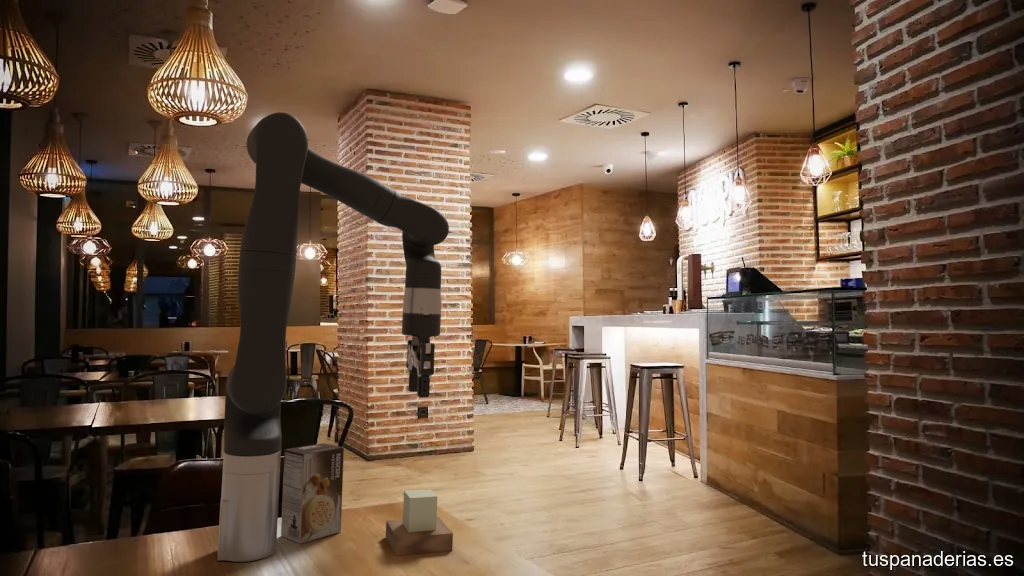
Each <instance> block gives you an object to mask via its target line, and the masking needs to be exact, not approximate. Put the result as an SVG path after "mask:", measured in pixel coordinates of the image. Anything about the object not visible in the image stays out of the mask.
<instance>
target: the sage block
mask: <svg viewBox="0 0 1024 576" xmlns="http://www.w3.org/2000/svg"><path fill="white" fill-rule="evenodd" d="M402 505H403V506H402V508H403V510H402V519H403V525H404V526H405V528H406V529H407V531H408V532H418V531H429V530H436V519H437V517H438V516H437V515H438V513H437V512H438V496H437V494H436V493H435V492H434V491H433V490H432V489H431V488H429V489H412V490H411V489H410V490H404V491H403V504H402Z"/></svg>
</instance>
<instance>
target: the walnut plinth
mask: <svg viewBox="0 0 1024 576" xmlns="http://www.w3.org/2000/svg"><path fill="white" fill-rule="evenodd" d="M385 539H386V540H387V542H388V543H389V545H390V548H391V549H392V550H393V552H394V554H395V556H397V557H398V556H406V555H417V554H426V553H436V552H437V553H438V552H446V551H449V552H450V551H453V543H454V542H453V539H454V533H453V531H452V530H451V529H450V528H449V527H448V525H446V523H444V522H443V520H442V519H441V518H440V517H439V516H437V519H436V530H429V531H418V532H408V531H407V529H406V528H405V526H404V525H403V518H402V519H390V520H386V521H385Z"/></svg>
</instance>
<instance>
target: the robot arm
mask: <svg viewBox="0 0 1024 576" xmlns="http://www.w3.org/2000/svg"><path fill="white" fill-rule="evenodd" d="M308 138H309V137H308V132H307V130H306V128H305V127H304V125H303V124H302V122H301V121H300V120H299V119H298V118H297V117H295V116H294V115H293V114H291V113H288V112H280V111H278V112H273V113H270V114H268V115H265V116H264V117H263V118H261V119H260V120H259V121H258V122H257V123H256V125H254V127H253V128H252V129H251V130H250V132H249V133H248V135H247V139H246V150H247V154H248V156H249V158H250V159H251V160H252V162H253V163H254V164H255V181H254V182H255V185H254V190H253V191H254V193H253V195H252V201H251V205H250V208H249V211H248V215H247V217H246V221H245V225H244V228H243V232H242V233H243V234H242V237H241V242H240V243H241V244H240V249H239V258H238V259H239V260H238V261H239V262H238V271H237V295H238V309H239V321H240V323H239V324H240V326H239V327H240V328H239V340H238V344H237V352H236V356H235V362H234V365H233V367H232V368H231V369H230V370H229V373H228V375H227V377H226V382H225V383H226V385H225V396H224V397H225V398H224V400H225V402H224V423H223V441H224V442H223V461H222V476H221V477H222V479H221V480H222V481H221V495H220V496H221V497H220V502H219V503H220V505H219V507H220V508H219V522H218V524H219V525H218V543H217V561H228V562H242V563H243V562H251V561H257V560H262V559H265V558H268V557H271V556H272V555H273V554H275V553H276V551H277V541H278V535H277V534H278V519H279V518H278V517H279V499H280V498H279V497H280V496H279V495H280V478H281V463H282V462H281V460H282V458H281V455H282V439H283V436H282V427H281V426H282V425H281V406H282V401H283V399H284V397H285V394H286V391H287V387H288V385H287V384H288V381H287V379H288V378H287V363H286V361H287V360H286V359H287V358H286V357H287V354H286V353H287V352H286V350H287V349H286V344H287V342H286V341H287V327H288V320H289V316H290V311H291V305H292V301H293V299H292V298H293V291H294V286H295V285H294V284H295V277H296V268H297V254H298V253H297V252H298V236H299V234H298V232H299V201H300V192H301V187H302V186H301V185H305V186H307V187H309V188H312V189H313V190H316V191H318V192H321V193H323V194H325V195H327V196H328V197H330V198H332V199H334V200H336V201H337V202H340V203H341V204H344V205H345V206H347V207H349V208H351V209H353V210H355V211H356V212H357V213H360V214H361V215H363V216H365V217H367V218H369V220H373V221H374V222H376V223H378V224H380V225H382V226H384V227H389V228H395V229H398V230H401V231H402V233H401V241H402V248H403V255H404V256H403V257H404V260H405V261H404V262H405V280H404V282H405V283H404V284H405V285H404V293H403V301H402V320H401V334H402V335H403V336H407V337H412V338H411V339H407V346H406V347H407V348H406V350H407V353H406V363H405V367H406V369H407V372H408V391H409V392H410V393H416V395H417V397H418V398H429V397H430V387H431V383H430V382H431V378H432V376H434V373H435V350H436V349H435V347H436V345H435V342H434V343H433V342H431V339H430V338H431V337H432V338H433V337H439V336H440V335H441V324H442V323H441V319H442V293H441V292H442V291H441V290H442V289H441V288H442V286H441V285H442V265H441V263H440V262H439V260H436V255H435V246H437V245H439V244H441V243H443V242H444V241H445V240H446V239H447V237H448V236H449V231H450V225H449V222H448V220H447V218H446V217H445V216H444V215H443V213H441V211H439V210H437V209H436V208H434V207H432V206H430V205H428V204H425V203H423V202H421V201H418V200H417V199H413V198H410V197H407V196H405V195H402V194H401V193H400V192H399V191H397V190H395V189H394V188H391V187H390V186H388V185H387V184H385V183H383V182H381V181H380V180H378V179H375V178H374V177H372V176H370V175H367V174H365V173H362V172H360V171H358V170H355V169H352V168H349V167H347V166H343V165H341V164H339V163H336V162H334V161H332V160H330V159H328V158H326V157H323V156H322V155H320V154H318V153H317V152H315V151H314V150H312V148H310V147H309V139H308Z"/></svg>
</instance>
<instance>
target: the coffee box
mask: <svg viewBox="0 0 1024 576" xmlns="http://www.w3.org/2000/svg"><path fill="white" fill-rule="evenodd" d="M344 450H345V448H344V446H338V445H333V444H329V443H323V442H322V443H317V444H312V445H311V444H310V445H303V446H297V447H291V448H285V449H284V451H283V453H284V454H283V478H282V481H283V482H282V500H281V501H282V502H281V523H280V524H281V527H280V536H281V537H282V536H283V537H282V538H284V537H285V539H287V538H288V539H287V540H289V541H290V540H291V541H292V542H295V543H297V544H304V543H308V542H311V541H316V540H317V539H321V538H324V537H329V536H330V535H331V536H332V535H334V534H338V533H341V532H342V515H343V514H342V511H343V509H342V507H343V505H342V504H343V486H344V485H343V481H344V480H343V477H344Z"/></svg>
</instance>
